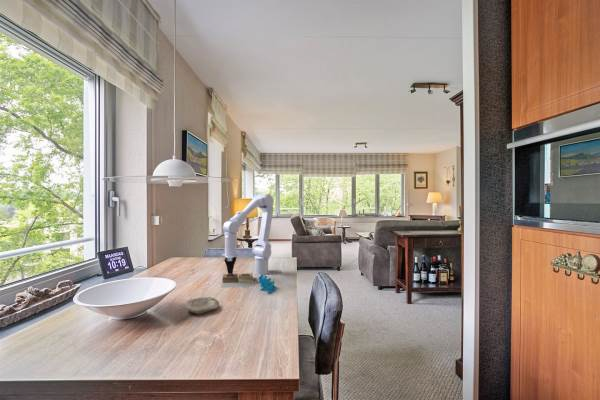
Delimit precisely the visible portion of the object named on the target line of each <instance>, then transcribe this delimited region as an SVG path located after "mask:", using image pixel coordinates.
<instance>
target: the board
mask: <svg viewBox="0 0 600 400" xmlns="http://www.w3.org/2000/svg"><path fill="white" fill-rule="evenodd" d="M254 281H255V279H254V276H253V282H238V280H237V282H232V283H223V282H222V284H221V288H243V287H244V288H245V287H246V288H247V287H255V282H254Z"/></svg>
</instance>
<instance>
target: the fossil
mask: <svg viewBox="0 0 600 400" xmlns="http://www.w3.org/2000/svg"><path fill="white" fill-rule="evenodd" d="M219 306H220V302H219V301H218V300H217V298H214V297H209V296H206V297H197V298H191V299H189V300H187V301H186V302H185V307H186V310H188V311H189V312H191V313H192V314H197V315H201V314H205V313H207V312H210V311H211V310H212V311H213V310H217V309H218V308H219Z"/></svg>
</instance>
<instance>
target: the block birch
mask: <svg viewBox="0 0 600 400" xmlns="http://www.w3.org/2000/svg"><path fill="white" fill-rule="evenodd" d="M253 273H254V272H249V273H248V272H245V273H238V282H253V277H254V275H253Z"/></svg>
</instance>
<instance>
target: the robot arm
mask: <svg viewBox="0 0 600 400" xmlns="http://www.w3.org/2000/svg"><path fill="white" fill-rule="evenodd" d="M274 202H275V200H274V198H273V196H272V195H271V194H270V193H265V194H261V193H260V194H259V193H258V194H255V195H254V196H253V197H252V198H251V201H249V203H248V204H247V205H246V206H245V208H243V210H238V211H236V212H235V215H233V216H232V217H231V218H229V220H227V221H225V222H224V223H223V226H221V227H222V231H223V232H224V234H223V235H224V253H222V255H221V256H222V257H225V258H224V260H223V261H224V263H225V266H226V271H227V274H232V273H233V274H234V267H235V263H236V261H237V255H238V254H237V248H238V247H237V243H238V242H237V241H238V239H237V235H238V232H239V230H240V229H241V226H242V225H243V223H245V221H246V220H247V219H248V215H250V214H251V213H252V212H253V211H254V210H255V209H256V208H259V209H260V210H261V211H262V216H261V222H260V227H259V233H258V239H257V241H255V242H254V246H253V247H252V250H251V251H252V252H251V253H252V255H253V258H254V274H255V275H256V276H257V275H258V276H261V275H264V276H265V275H268V274H269V259H270V257H271V256H272V244H271V243H270V242H269V238H270V234H271V227H272V220H273V214H274Z"/></svg>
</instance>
